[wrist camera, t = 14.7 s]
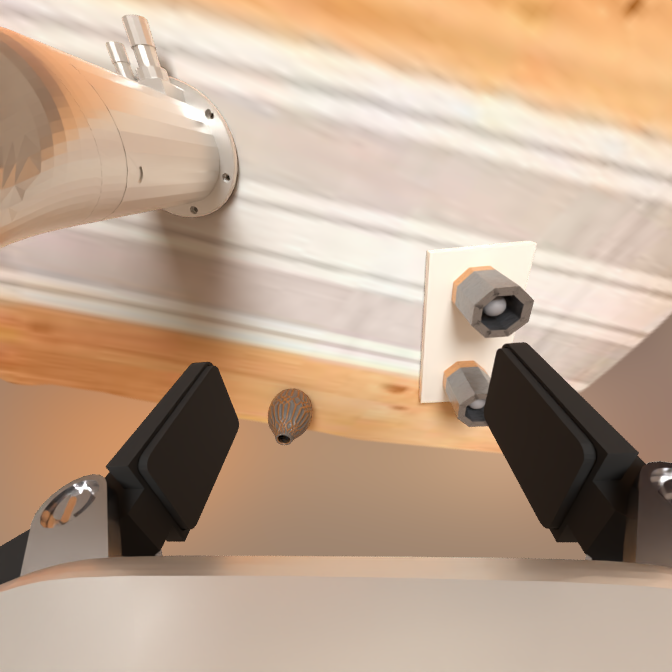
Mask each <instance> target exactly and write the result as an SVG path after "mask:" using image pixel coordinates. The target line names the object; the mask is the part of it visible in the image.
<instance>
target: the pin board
mask: <svg viewBox="0 0 672 672" xmlns="http://www.w3.org/2000/svg"><path fill="white" fill-rule="evenodd" d="M536 245H537V243H534V242H532V241H521V242H510V243H500V244H489V245H479V246H468V247H458V248H447V249H436V250H427V257H426V276H425V294H424V313H423V331H422V350H421V368H420V387H419V398H420V402H421V403H432V402H450V400H449V398H448V395H447V393H446V391H445V388H444V386H443V375H444V371H445V370H446V369H448V368H449V367H450V366H452V365H453V364H454V363H455V362H457V361H472V360H474V361H475V362H477V363H478V364H479V365H480V366H481V367H482V368H484V369H485V371H486V372H487V374H488V375H489V377H490V378H491V374H492V369H493V365H494V360H495V355H496V351H497V350H498V349H499V348H502V346H503V345H504V344H506V343H513V339H514V335H515V332H514V333H512V334H511V335H510V336H508V337H494V338H485V337H484V336H482V335H481V334H480V333H479V332H478V331H477V330H476V329H475V328H473V327H472V326H471V325H470V323H469V322H468V321H467V319H466V318H465V317H464V315H463V314H462V313H461V312H460V310H459V309H458V308H457V306H456V305H455V304H454V303H453V301H452V300H451V299H452V289H453V282H454V281H455V280H456V279H457V278H458V277H459V276H460V275H461V274H463V273H464V272H465V271H466V270H467V269H468V268H469V267H480V266H491V267H493V268H494V269H496V270H497V271H499V272H500V273H501V274H503V275H504V276H506V277H507V278H509V279H510V280H512V281H513V282H515V283H516V284H518V285H519V286H520V287H521V288H522V289H523V290H524V291H525V290H526V286H527V282H528V278H529V274H530V269H531V265H532V261H533V257H534V253H535V249H536ZM505 308H506V301H505V299H504V298H503V297H502V296H497V297H495V298H494V299H493V300H492V301H490V302H489V303H488V304H487V305H486V306H484V307H483V310H482V311H483V312H484V313H485V314H487V315H489V316H497V315H500V314H501V313H503V312H504V310H505ZM485 402H486V399H477V400H476V401H474V402H473V403H471V404H470V405H469V406H470V407H471V408H473V409H480V408H482V407H483V406H484V405H485Z"/></svg>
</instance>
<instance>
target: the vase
mask: <svg viewBox="0 0 672 672" xmlns="http://www.w3.org/2000/svg"><path fill="white" fill-rule="evenodd" d="M311 417H312V405H311V402H310V400H309V398H308V396H307V395H306V394H305V393H303V392H302V391H300V390H297V389H287V390H284V391H282V392H280V393H279V394H278V395H277V396H276V397H275V398H274V399H273V401H272V403H271V405H270V407H269V411H268V423H269V426H270V429H271V430H272V432H273V434H274V435H275V439H276V441H277V442H278V443H279V444H281V445H288V444H290V443H291V442H292V441H293V440H294V439H295V438H297V437H299V436H300V435H302V434H303V433H304V432H305V431H306V429H307V428H308V426H309V424H310V421H311Z"/></svg>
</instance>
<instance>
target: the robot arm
mask: <svg viewBox="0 0 672 672" xmlns="http://www.w3.org/2000/svg"><path fill="white" fill-rule="evenodd" d="M122 22H123V25H124V27H125V30H126V33H127V36H128V39H129V42H130V45H131V48H132V49H133V50H134V53H135V56H136V59H137V62H138V65H139V68H137V69H136V72H137V75H138V78H139V79H138V80H137V79H135V78H134V75H133V72H132V70H131V67H130V62H129V59H128V56H127V53H126V50H125V47H124V45H123V44H122V43H119V42H107V43H106V47H107V50H108V53H109V55H110V58H111V61H112V63H113V64H114V66H115V69H116V72H117V74H116V73H113V72H111V71H109V70H106V69H104V68H101V67H99V66H97V65H94V64H92V63H89V62H87V61H84V60H82V59H80V58H77V57H75V56H72V55H70V54H68V53H65V52H63V51H60V50H58V49H55V48H53V47H51V46H48V45H46V44H43V43H41V42H39V41H36V40H34V39H31V38H29V37H26V36H24V35H21V34H19V33H16V32H14V31H12V30H9V29H7V28H3V27H0V248H2V247H4V246H7V245H9V244H11V243H14V242H17V241H20V240H23V239H26V238H29V237H32V236H35V235H39V234H42V233H46V232H50V231H55V230H59V229H63V228H68V227H72V226H77V225H82V224H87V223H93V222H98V221H103V220H108V219H113V218H118V217H123V216H128V215H133V214H138V213H143V212H148V211H153V210H158V209H163V210H165V211H167V212H169V213H172V214H174V215H178V216H182V217H200V216H205V215H208V214H211V213H213V212H214V211H216V210H218V209H220V208H221V207H222V206H223V205H224V204H225V203H226V202H227V200H228V199H229V197H230V195H231V194H232V191H233V189H234V186H235V183H236V177H237V154H236V148H235V144H234V141H233V138H232V135H231V132H230V130H229V128H228V126H227V124H226V122H225V120H224V118H223V117H222V115H221V114H220V112H219V111H218V109H217V108H216V107H215V106H214V105H213V104H212V102H211V101H210V100H209V99H208V98H207V97H206V96H205V95H203V94H202V93H201V92H200V91H198V90H197V89H196V88H194V87H192V86H191V85H189V84H187V83H185V82H183V81H181V80H178V79H176V78H173V77H170V76H168V74H167V71H166V70H165V69H164V68H161V66H160V63H159V60H158V56H157V53H156V47H155V44H154V41H153V38H152V34H151V31H150V28H149V25H148V22H147V19H145V18H144V17H141V16H138V15H125V16H124V17H122ZM212 113H213V114H214V118H213V119H212V118H211V114H212ZM228 175H229V176H230V180H228V179H227V176H228ZM196 208H197V209H198V211H196ZM484 417H485V420H486V423H487V424H488V426H489V428H490V430H491V432H492V434H493V436H494V437H495V439H496V441H497V443H498V445H499V447H500V449H501V450H502V452H503V454H504V456H505V458H506V460H507V461H508V463H509V465H510V467H511V469H512V471H513V473H514V475H515V477H516V478H517V480H518V482H519V484H520V486H521V488H522V489H523V492H524V493H525V495H526V497H527V499H528V501H529V503H530V504H531V506H532V508H533V510H534V512H535V514H536V516H537V517H538V520H539V521H540V523H541V524H542V525H543V526H544V527H545V528H549V529H550V531H551V532H552V534H553V536H554V538H555V539H556V542H578V543H579V544H580V546H581V548H582V549H583V551H584V553H585V554H586V559H585V560H565V559H530V558H462V557H458V558H457V557H365V556H362V557H360V556H358V557H357V556H356V557H355V556H162V551H161V548H162V546H163V544H164V542H165V540H167V541H185V540H186V538H187V535H188V533H189V531H190V529H193V528H194V527H195V526H196V524H197V522H198V520H199V518H200V515H201V513H202V511H203V509H204V506H205V504H206V502H207V500H208V497H209V495H210V493H211V490H212V488H213V486H214V484H215V481H216V479H217V477H218V474H219V472H220V470H221V468H222V465H223V463H224V461H225V458H226V456H227V454H228V451H229V449H230V447H231V445H232V443H233V440H234V438H235V435H236V433H237V431H238V428H239V421H238V418H237V415H236V413H235V410H234V408H233V405H232V403H231V400H230V397H229V395H228V392H227V390H226V387H225V385H224V382H223V380H222V377H221V375H220V372H219V370H218V368H217V367H216V366H213V364H212V363H210V362H201V363H192V364H191V365H190V366H189V367H188V368H187V370H186V371H185V372H184V373H183V374H182V376H181V377H180V378H179V379H178V380H177V382H176V383H175V384H174V385H173V386H172V388H171V389H170V390H169V391H168V392H167V394H166V395H165V396H164V397H163V398H162V400H161V401H160V402H159V403H158V404H157V406H156V407H155V408H154V409H153V410H152V412H151V413H150V414H149V415H148V416H147V418H146V419H145V420H144V421H143V422H142V424H141V425H140V426H139V427H138V428H137V430H136V431H135V432H134V433H133V434H132V436H131V437H130V438H129V439H128V440H127V442H126V443H125V444H124V445H123V446H122V448H121V449H120V450H119V451H118V452H117V454H116V455H115V456H114V457H113V458H112V460H111V461H110V462H109V463H108V464H107V466H106V468H107V469H108V470H109V471H110V472H109V473H108V475H107V476H106V477H105V478H104V477H103V476H101V475H95V474H92V475H88V476H83V477H81V478H79V479H76V480H74V481H72V482H70V483H69V484H67V485H65V486H63V487H62V488H61V489H59V490H58V491H57V492H55V493H54V494H53V495H52V496H50V498H49V499H47V500H46V501H45V502H44V503H43V505H42V506H41V507H40V508H39V510H38V511H37V513H36V514H35V516H34V519H33V521H32V523H31V528H30V529H29V530H28V531H26V532H24V533H22V534H21V535H19V536H17V537H16V538H14V539H12V540H11V541H9V542H7V543H5V544H4V545H2V546H0V672H672V463H668V462H661V461H659V462H649V463H647V464H645V463H644V462H643V461H642V460H641V459H640V458H639V457H638V456H637V455H638V453H639V452H637V451H636V450H635V449H634V448H633V447H632V446H631V445H630V444H629V443H628V442H627V441H626V440H625V439H624V438H623V437H622V436H621V435H620V434H619V433H618V432H617V431H616V430H615V429H614V428H613V427H612V426H611V425H610V424H609V423H608V422H607V421H606V420H605V419H604V418H603V417H602V416H601V415H600V414H599V413H598V412H597V411H596V410H595V409H593V407H592V406H591V405H590V404H589V403H587V401H585V399H583V398H582V397H581V396H580V395H579V394H578V393H577V392H576V391H575V390H574V389H573V388H572V387H571V386H570V385H569V384H568V383H567V382H566V381H565V380H564V379H563V378H562V377H561V376H560V375H559V374H558V373H557V372H556V371H555V370H554V369H553V368H552V367H551V366H550V365H549V364H548V363H547V362H546V361H545V360H544V359H543V358H542V357H541V356H540V355H539V354H538V353H537V352H536V351H535V350H534V349H533V348H532V347H530V346H529V345H528V344H527V343H524V342H522V343H506V344H504V345H503V346H502V348H499V349H498V350H497V351H496V355H495V360H494V365H493V369H492V374H491V379H490V383H489V388H488V393H487V397H486V402H485V407H484Z"/></svg>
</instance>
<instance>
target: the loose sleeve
mask: <svg viewBox="0 0 672 672" xmlns="http://www.w3.org/2000/svg"><path fill="white" fill-rule="evenodd" d="M497 296H502V297H503V298H504V299H505V301H506V308H505V310H504V312H503V313H501V314H500V315H497V316H489V315H487V314H485V313H484V312H483V311H482V310H483V307H484V306H486V305H487V304H488V303H489V302H490V301H492V300H493V299H494V298H495V297H497ZM451 300H452V301H453V303H454V304H455V305H456V306H457V308H458V309H459V310H460V312H461V313H462V314H463V315H464V317H465V318H466V319H467V321H468V322H469V323H470V325H471V326H472V327H473V328H475V329H476V330H477V331H478V332H479V333H480V334H481V335H482V336H484V337H485V338H494V337H508V336H510V335H511V334H512V333H514V332H515V331H516V330H518V329H519V328H520V327H522V326H523V325H525V324H526V323H527V322H528V321H529V317H530V314H531V310H532V306H533V302H534V300H533V299H532V298H531V297H530V296H529V295H528V294H527V293H526V292H525V291H524V290H523V289H522V288H521V287H520V286H519V285H518V284H516V283H515V282H513V281H512V280H510V279H509V278H507V277H506V276H504V275H503V274H501V273H500V272H499V271H497V270H496V269H494V268H493V267H491V266H480V267H469V268H468V269H467V270H466V271H465V272H464V273H463V274H461V275H460V276H459V277H458V278H457V279H456V280H455V281H454V282H453V289H452V299H451Z"/></svg>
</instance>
